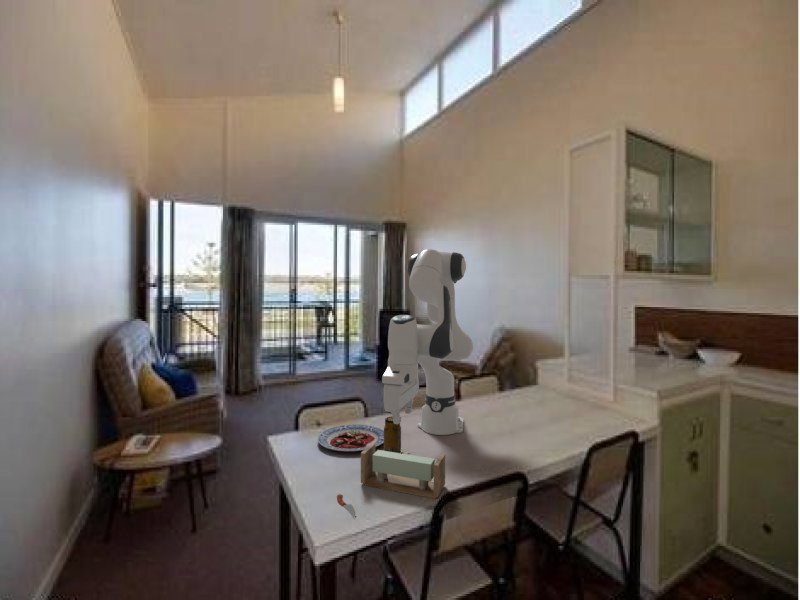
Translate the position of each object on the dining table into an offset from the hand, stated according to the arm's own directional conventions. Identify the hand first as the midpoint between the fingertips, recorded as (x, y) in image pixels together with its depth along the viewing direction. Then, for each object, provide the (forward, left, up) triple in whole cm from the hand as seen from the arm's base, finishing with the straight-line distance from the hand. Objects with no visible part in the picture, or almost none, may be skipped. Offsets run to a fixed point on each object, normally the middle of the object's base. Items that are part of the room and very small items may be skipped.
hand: (402, 418), depth 126 cm
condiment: (-21, -11, -21) cm, 31 cm away
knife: (+16, -10, -21) cm, 28 cm away
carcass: (0, 0, -20) cm, 20 cm away
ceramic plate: (-25, -29, -21) cm, 43 cm away
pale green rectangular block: (0, 0, -17) cm, 17 cm away
